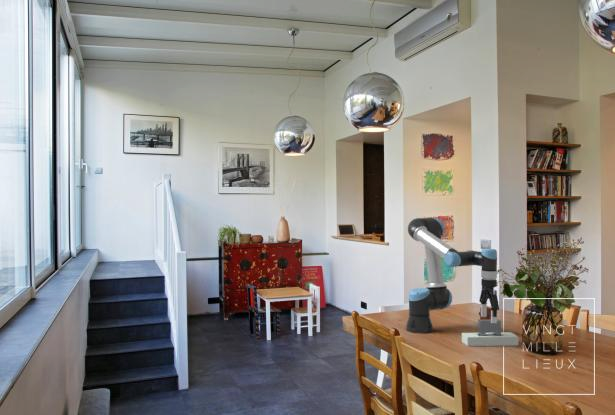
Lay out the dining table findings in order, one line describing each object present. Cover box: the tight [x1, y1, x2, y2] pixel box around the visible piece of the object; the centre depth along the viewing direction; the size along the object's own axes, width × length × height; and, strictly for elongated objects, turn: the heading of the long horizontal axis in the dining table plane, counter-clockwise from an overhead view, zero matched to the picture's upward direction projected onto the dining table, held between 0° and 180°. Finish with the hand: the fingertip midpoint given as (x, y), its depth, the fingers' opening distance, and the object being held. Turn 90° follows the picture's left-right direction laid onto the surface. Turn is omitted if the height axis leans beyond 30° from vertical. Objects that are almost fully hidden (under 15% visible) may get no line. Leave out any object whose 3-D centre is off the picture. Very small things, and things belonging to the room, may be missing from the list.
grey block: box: [477, 318, 502, 336], centre depth 257 cm, size 11×3×12 cm, turn 91°
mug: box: [478, 306, 492, 320], centre depth 281 cm, size 15×8×15 cm, turn 168°
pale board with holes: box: [461, 331, 519, 347], centre depth 257 cm, size 26×9×4 cm, turn 91°
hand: (488, 319), depth 258 cm, fingers open, 13 cm apart
